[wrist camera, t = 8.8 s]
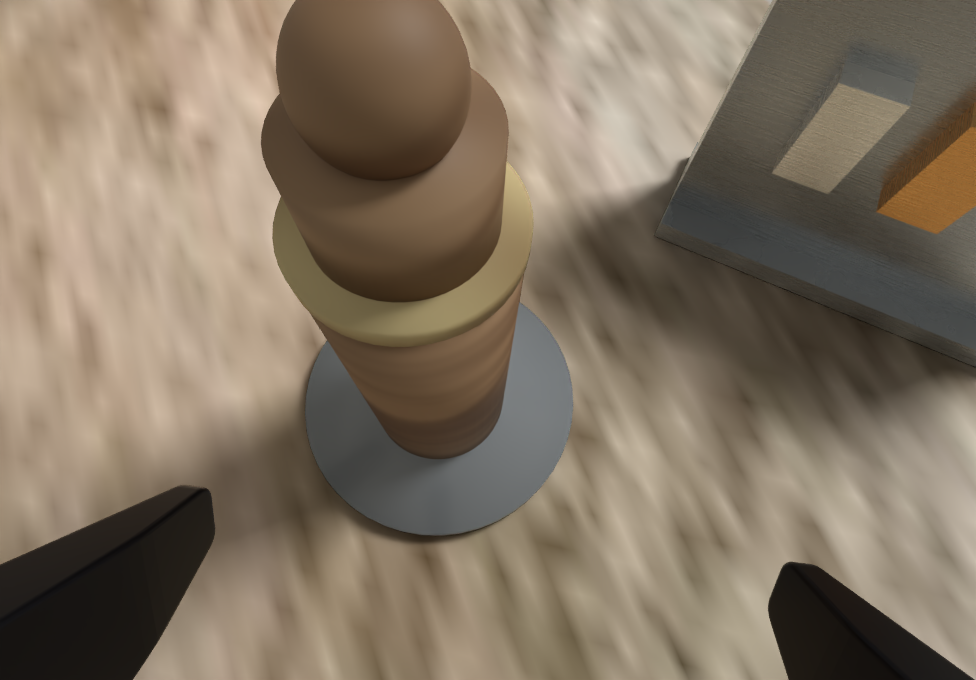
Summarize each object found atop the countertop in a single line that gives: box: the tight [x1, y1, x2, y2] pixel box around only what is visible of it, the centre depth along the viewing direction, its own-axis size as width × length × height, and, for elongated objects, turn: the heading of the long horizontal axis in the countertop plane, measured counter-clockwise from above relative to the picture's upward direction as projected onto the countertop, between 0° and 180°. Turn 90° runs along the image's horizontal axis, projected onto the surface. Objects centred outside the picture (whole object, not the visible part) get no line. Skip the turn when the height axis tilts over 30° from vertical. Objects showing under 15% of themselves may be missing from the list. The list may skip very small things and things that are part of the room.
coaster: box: [305, 302, 573, 536], centre depth 21 cm, size 11×11×1 cm
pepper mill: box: [261, 0, 533, 459], centre depth 13 cm, size 5×5×16 cm
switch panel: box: [654, 0, 976, 367], centre depth 19 cm, size 6×16×12 cm, turn 63°
